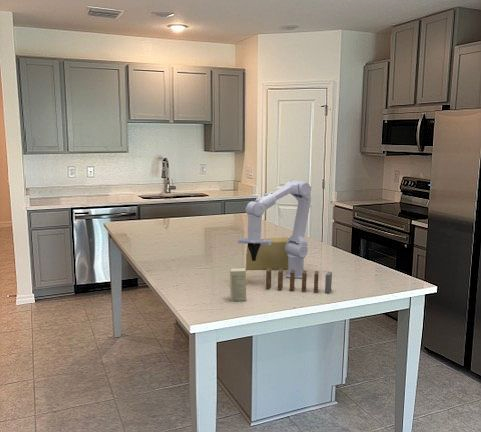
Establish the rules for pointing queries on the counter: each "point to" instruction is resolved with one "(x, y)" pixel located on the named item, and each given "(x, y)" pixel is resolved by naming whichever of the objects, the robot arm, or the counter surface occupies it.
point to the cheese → (269, 256)
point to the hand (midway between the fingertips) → (253, 260)
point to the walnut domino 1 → (268, 279)
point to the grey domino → (328, 282)
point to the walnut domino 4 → (304, 280)
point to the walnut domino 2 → (280, 279)
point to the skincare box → (238, 284)
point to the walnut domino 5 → (316, 281)
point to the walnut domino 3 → (292, 279)
